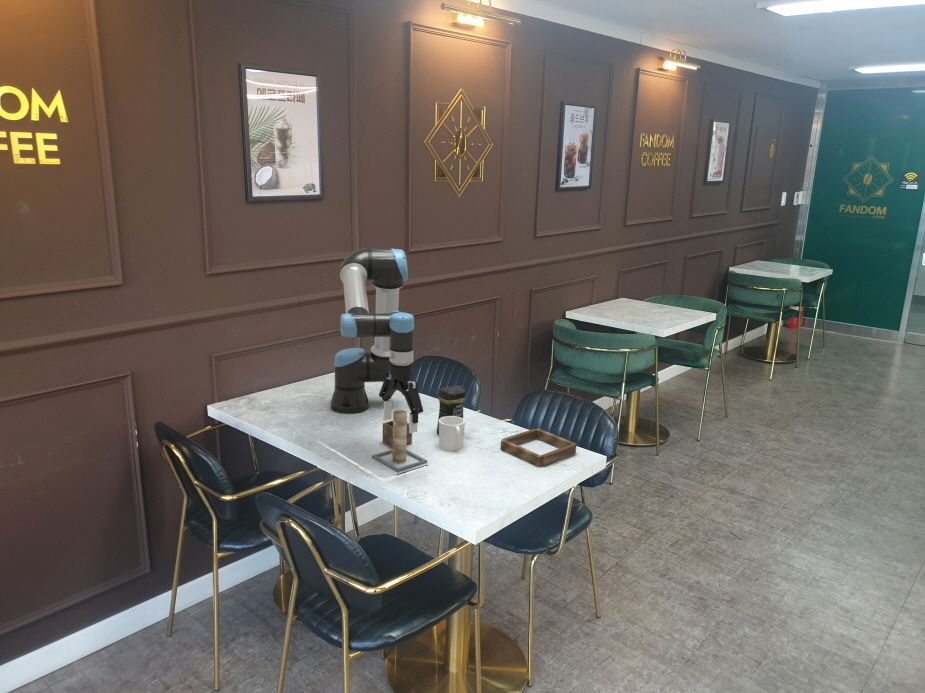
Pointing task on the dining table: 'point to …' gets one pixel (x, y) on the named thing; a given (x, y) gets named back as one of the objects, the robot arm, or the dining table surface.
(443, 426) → the mug
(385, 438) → the pen cup
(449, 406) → the coffee jar
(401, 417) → the dowel
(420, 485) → the dining table surface
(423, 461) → the tray
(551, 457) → the frame
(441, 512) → the dining table surface
